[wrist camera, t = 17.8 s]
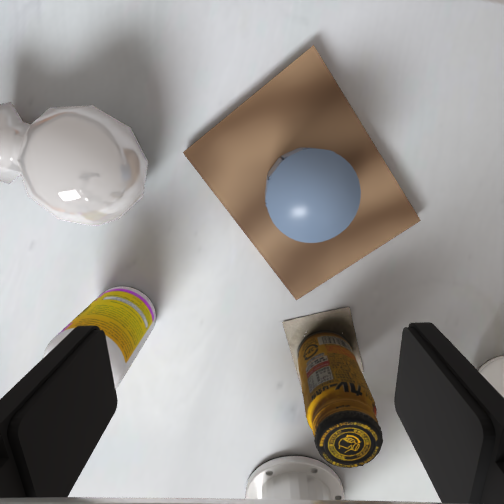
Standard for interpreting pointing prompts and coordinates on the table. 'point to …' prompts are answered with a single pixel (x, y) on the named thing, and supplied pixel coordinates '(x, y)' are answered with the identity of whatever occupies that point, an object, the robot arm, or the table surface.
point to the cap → (312, 194)
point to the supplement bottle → (117, 325)
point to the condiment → (334, 387)
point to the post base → (288, 139)
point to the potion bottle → (74, 162)
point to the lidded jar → (494, 373)
